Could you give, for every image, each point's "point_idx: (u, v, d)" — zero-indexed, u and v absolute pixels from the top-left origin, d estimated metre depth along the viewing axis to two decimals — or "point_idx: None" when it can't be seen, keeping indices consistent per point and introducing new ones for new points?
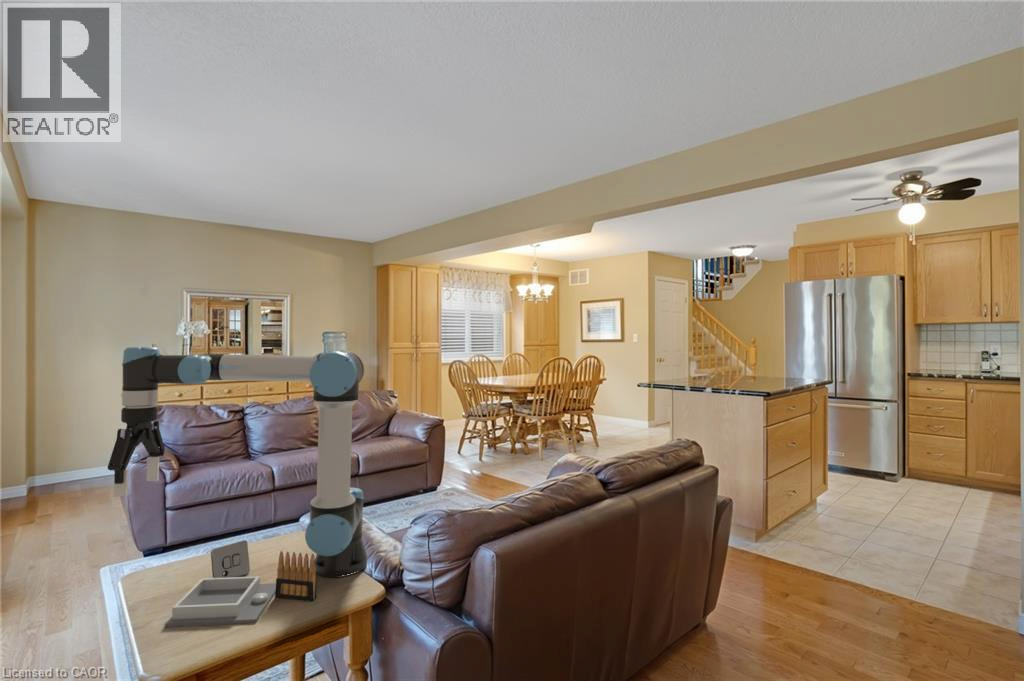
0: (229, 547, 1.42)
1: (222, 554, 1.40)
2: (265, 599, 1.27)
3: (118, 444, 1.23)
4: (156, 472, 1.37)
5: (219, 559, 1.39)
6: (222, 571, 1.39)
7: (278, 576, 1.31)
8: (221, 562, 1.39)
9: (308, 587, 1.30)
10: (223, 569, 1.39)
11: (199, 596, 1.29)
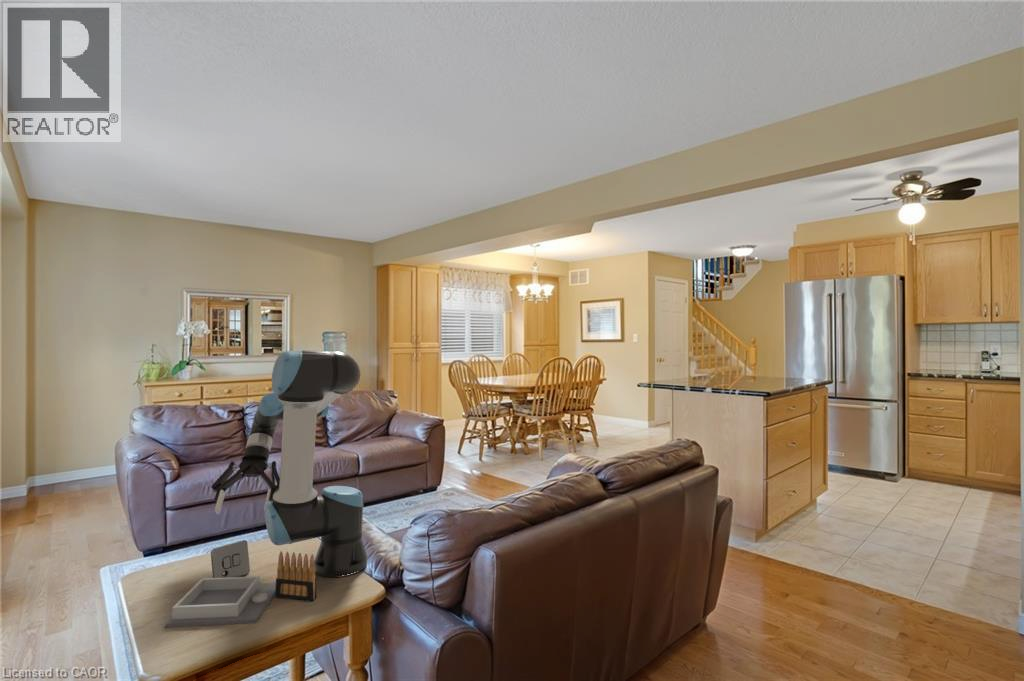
0: (229, 547, 1.42)
1: (222, 554, 1.40)
2: (265, 599, 1.27)
3: None
4: None
5: (219, 559, 1.39)
6: (222, 571, 1.39)
7: (278, 576, 1.31)
8: (221, 562, 1.39)
9: (308, 587, 1.30)
10: (223, 569, 1.39)
11: (199, 596, 1.29)
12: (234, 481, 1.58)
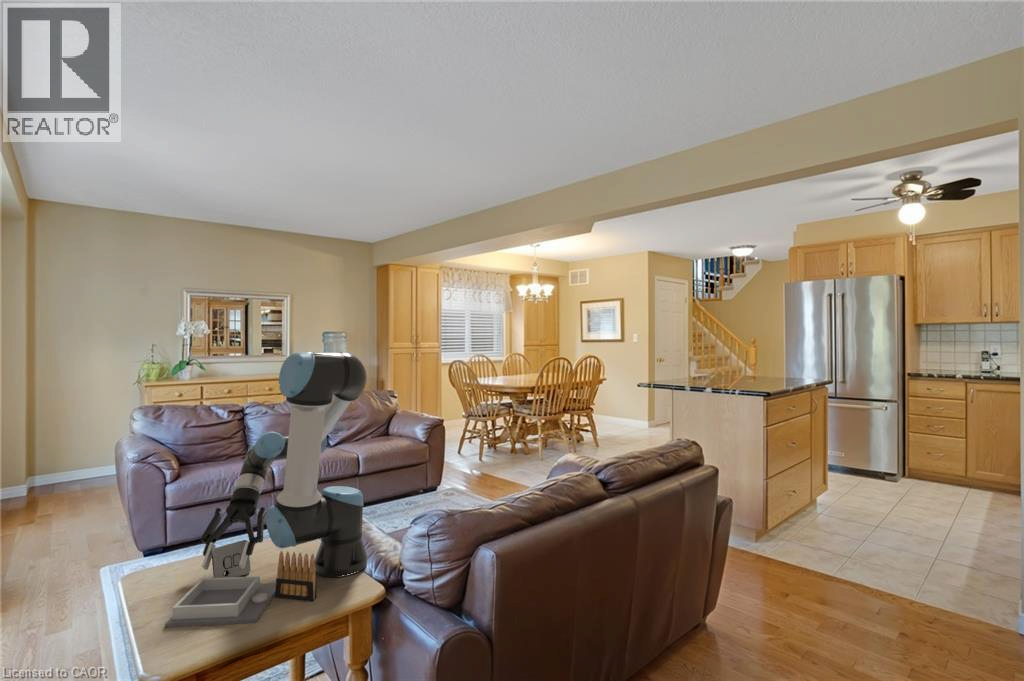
0: (230, 547, 1.42)
1: (223, 554, 1.40)
2: (265, 599, 1.27)
3: None
4: None
5: (220, 559, 1.39)
6: (223, 571, 1.39)
7: (278, 576, 1.31)
8: (222, 562, 1.39)
9: (308, 587, 1.30)
10: (224, 569, 1.39)
11: (199, 596, 1.29)
12: (223, 529, 1.46)
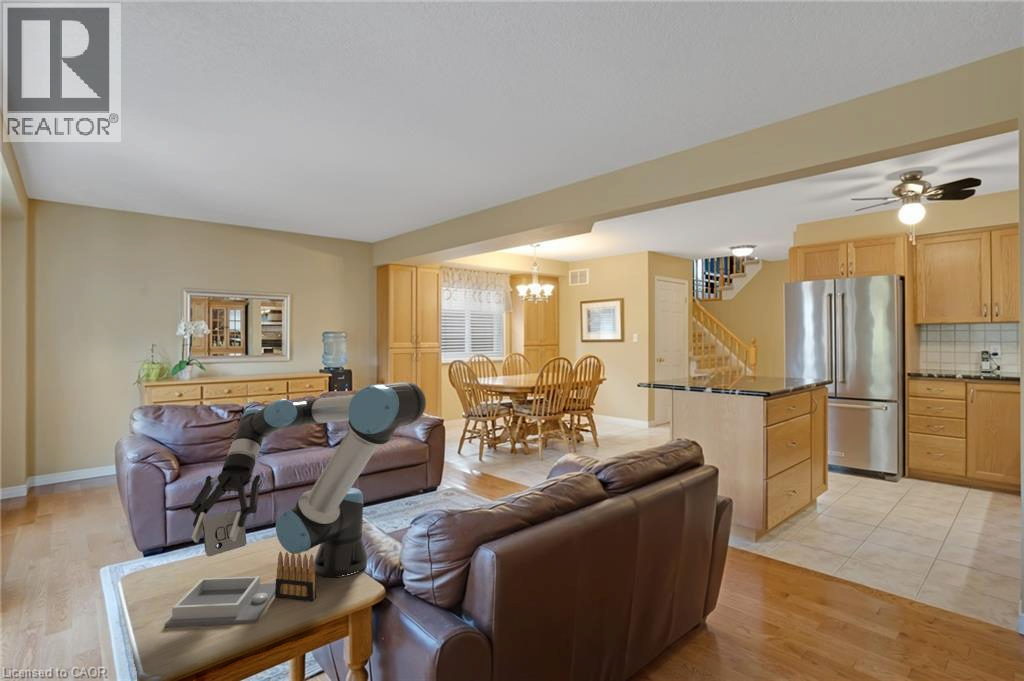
0: (223, 517, 1.27)
1: (215, 524, 1.26)
2: (265, 599, 1.27)
3: None
4: None
5: (212, 530, 1.25)
6: (215, 542, 1.25)
7: (277, 576, 1.31)
8: (214, 533, 1.25)
9: (308, 587, 1.29)
10: (216, 541, 1.25)
11: (199, 596, 1.29)
12: (216, 499, 1.32)
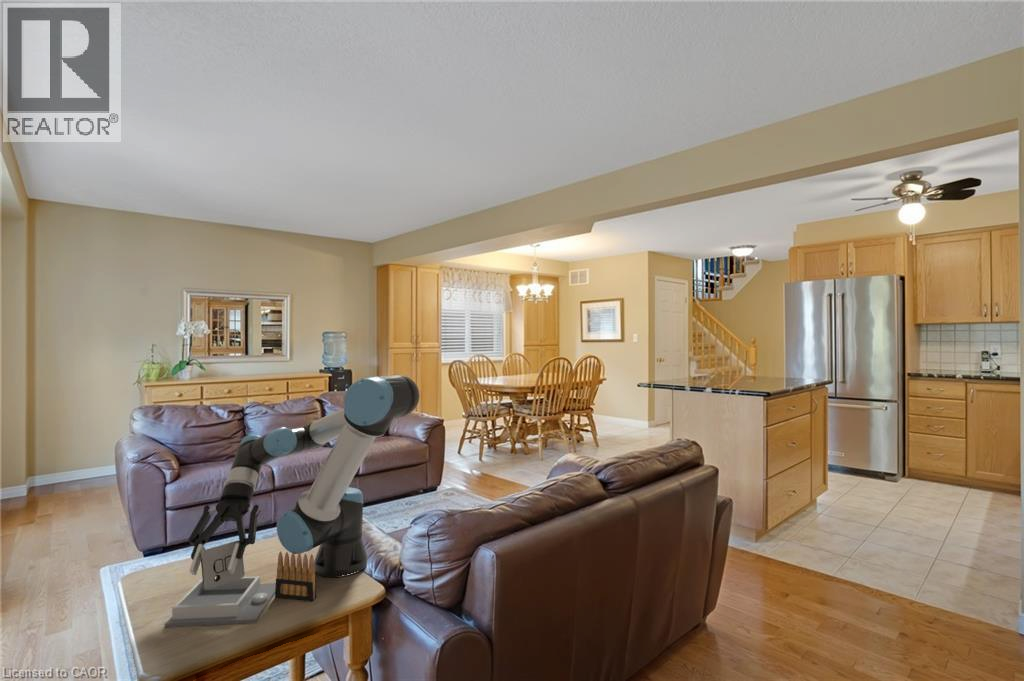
0: (221, 548, 1.27)
1: (213, 556, 1.25)
2: (265, 599, 1.27)
3: None
4: None
5: (210, 562, 1.24)
6: (214, 575, 1.24)
7: (278, 576, 1.31)
8: (212, 565, 1.24)
9: (308, 587, 1.29)
10: (214, 573, 1.24)
11: (199, 596, 1.29)
12: (214, 529, 1.31)
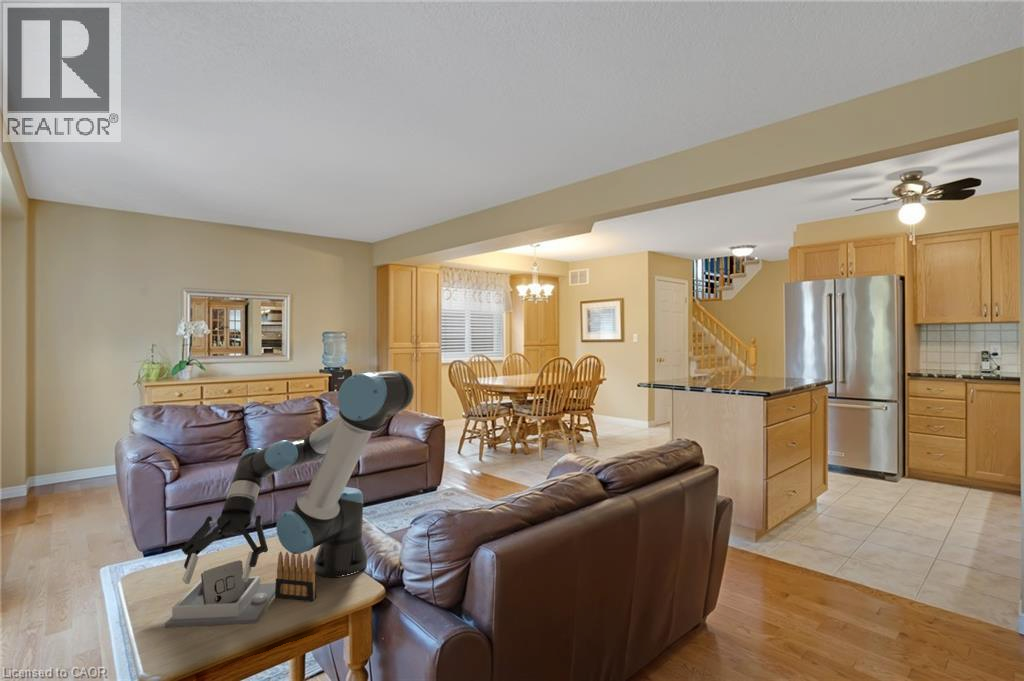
0: (222, 569, 1.27)
1: (214, 577, 1.25)
2: (265, 599, 1.27)
3: None
4: None
5: (212, 583, 1.24)
6: (215, 596, 1.24)
7: (278, 576, 1.31)
8: (213, 586, 1.24)
9: (308, 587, 1.29)
10: (216, 594, 1.24)
11: (199, 596, 1.29)
12: (210, 541, 1.31)
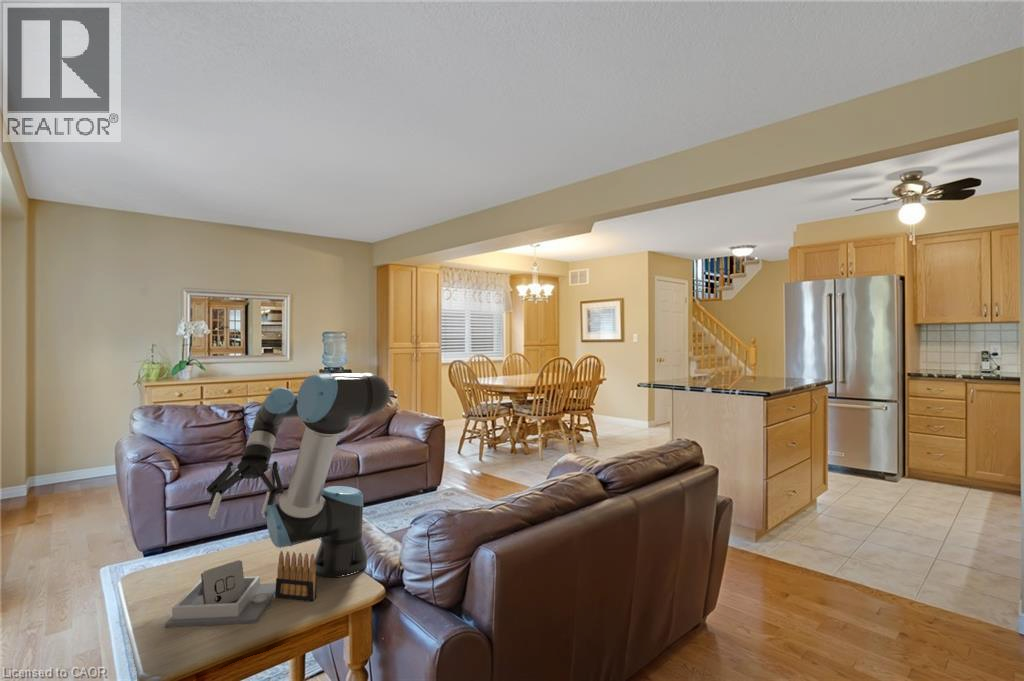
0: (222, 569, 1.27)
1: (214, 577, 1.25)
2: (265, 599, 1.27)
3: None
4: None
5: (212, 583, 1.24)
6: (215, 596, 1.24)
7: (278, 576, 1.31)
8: (213, 586, 1.24)
9: (308, 587, 1.30)
10: (216, 594, 1.24)
11: (199, 596, 1.29)
12: (232, 483, 1.44)
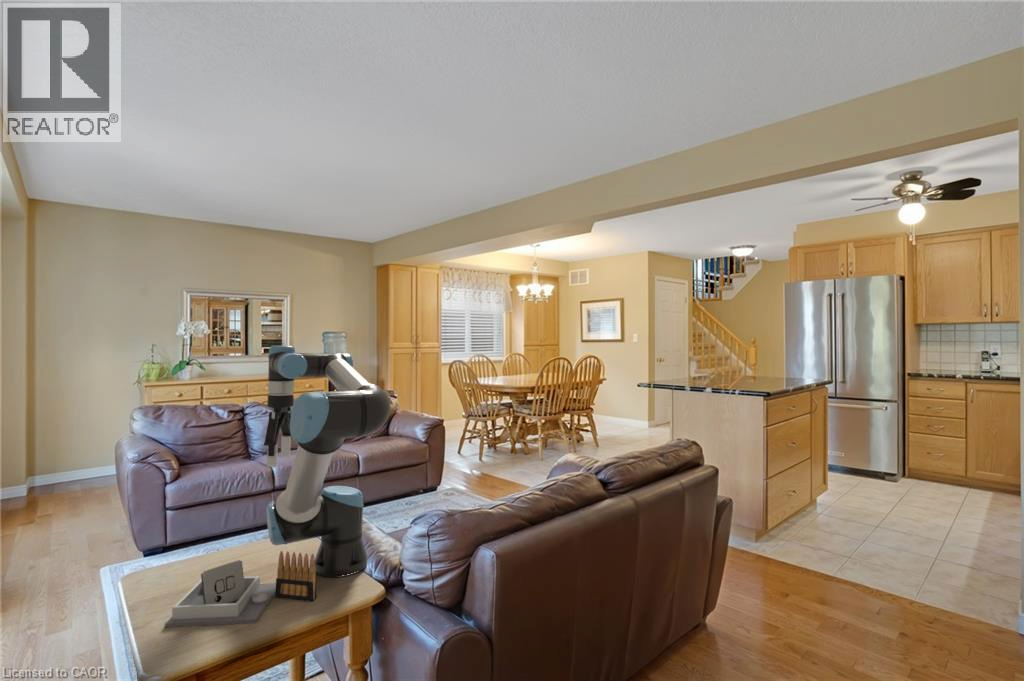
0: (222, 569, 1.27)
1: (214, 577, 1.25)
2: (265, 599, 1.27)
3: (270, 424, 1.51)
4: (288, 449, 1.65)
5: (212, 583, 1.24)
6: (215, 596, 1.24)
7: (278, 576, 1.31)
8: (213, 586, 1.24)
9: (308, 587, 1.30)
10: (216, 594, 1.24)
11: (199, 596, 1.29)
12: None
